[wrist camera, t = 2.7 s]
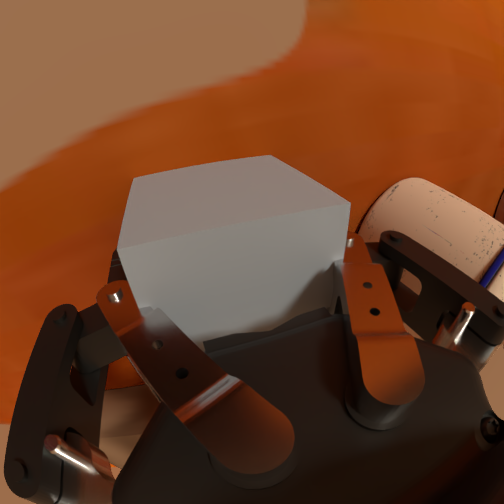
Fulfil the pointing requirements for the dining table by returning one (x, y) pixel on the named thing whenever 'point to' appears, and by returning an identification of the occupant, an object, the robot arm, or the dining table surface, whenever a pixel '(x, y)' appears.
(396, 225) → the teacup with lid
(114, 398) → the walnut plinth
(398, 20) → the dining table surface
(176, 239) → the slate block
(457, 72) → the dining table surface
